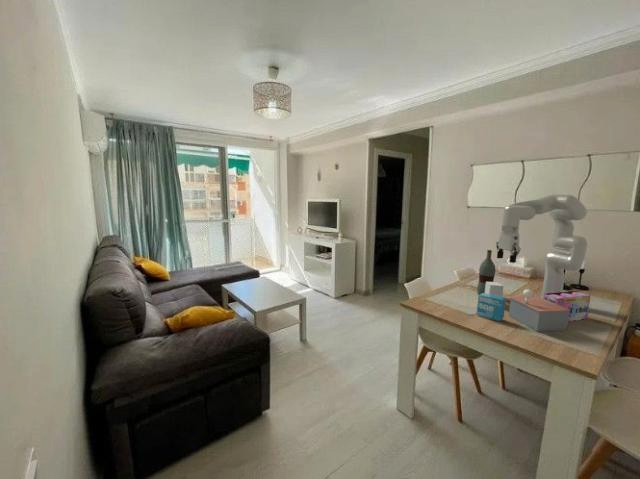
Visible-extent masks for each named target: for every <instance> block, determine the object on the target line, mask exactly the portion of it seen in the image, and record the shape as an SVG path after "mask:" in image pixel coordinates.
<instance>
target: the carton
mask: <svg viewBox="0 0 640 479" xmlns="http://www.w3.org/2000/svg"><path fill="white" fill-rule="evenodd" d="M569 312H570V311H564V312H537V311H535V310H533V309H531V308H529V307H527V306H525V305H523V304H521V303H519V302H517V301H515V300H513V299H511V298H510V303H509V311H508V316H509V317H510V318H512V319H514V320H516V321H517V322H519V323H520V324H522V325H524V326H526V327H527V328H528V329H531V330H533V331H534V332H541V333H542V332H559V331H560V332H562V331H561V330H565V331H567V329H568V328H567V327H568V325H569V324H568V323H569V321H568V318H569Z"/></svg>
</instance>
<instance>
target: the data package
mask: <svg viewBox="0 0 640 479" xmlns="http://www.w3.org/2000/svg"><path fill="white" fill-rule="evenodd" d="M476 305H477V306H476V315H477V316H479V317H480V318H481V317H482V318H485V319H490V320H492V321H496V322H501V321H502V320H503V319H504V317H505V308H506V299H505V298H504V297H503V296H502V297H498V296H494V295H489V294H485V293H482V294H481V295H478V297H477V304H476Z"/></svg>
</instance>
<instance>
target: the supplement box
mask: <svg viewBox="0 0 640 479" xmlns="http://www.w3.org/2000/svg"><path fill="white" fill-rule="evenodd" d="M485 294H489V295H494V296H498V297H503V294H504V285H502V284H501V283H500V282H498V281H496V282H495V281H493V282H486V285H485Z"/></svg>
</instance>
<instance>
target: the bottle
mask: <svg viewBox="0 0 640 479" xmlns="http://www.w3.org/2000/svg"><path fill="white" fill-rule="evenodd" d="M492 252H493V251H492V250H491V249H487V252H486V258H485V259H484V260H483V261H482V262H481V263H480V265H479V267H478V268H479V270H478V273H479V276H478V283H477V285H476V286H477V287H476V292H477V295H478V296H479V295H481V294H482V293H485V285H486V282H494V281H495V276H496V265H495V263H494V262H493V260H492Z"/></svg>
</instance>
